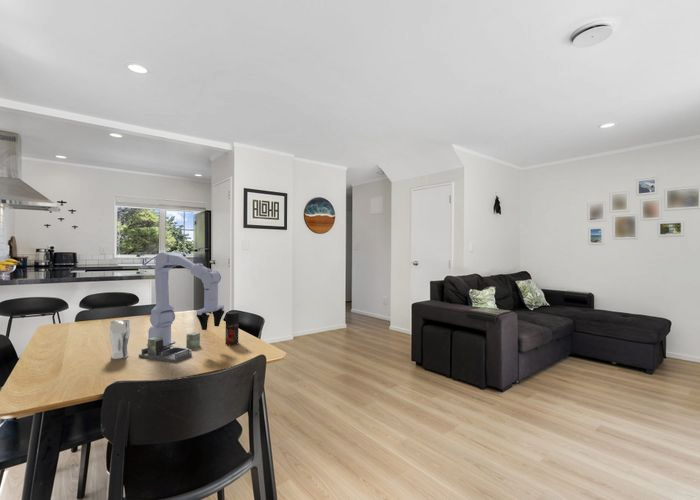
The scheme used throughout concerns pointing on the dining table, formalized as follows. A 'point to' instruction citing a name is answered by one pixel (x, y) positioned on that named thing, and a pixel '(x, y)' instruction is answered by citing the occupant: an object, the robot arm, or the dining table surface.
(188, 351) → the grey slotted rack
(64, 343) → the dining table surface
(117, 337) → the beer glass
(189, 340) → the sage green rectangular prism
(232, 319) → the deodorant
